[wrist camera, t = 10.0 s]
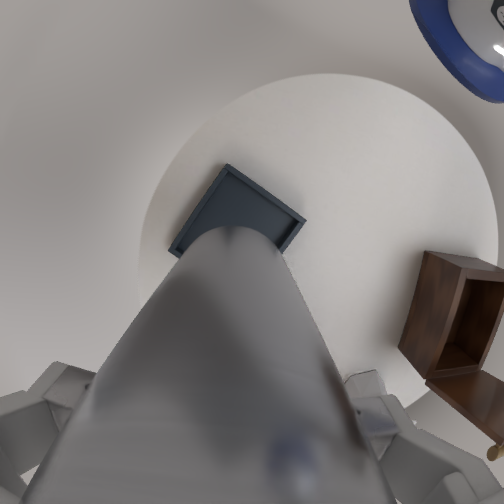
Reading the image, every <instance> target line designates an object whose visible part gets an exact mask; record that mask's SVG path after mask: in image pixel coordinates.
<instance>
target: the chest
mask: <svg viewBox="0 0 504 504" xmlns="http://www.w3.org/2000/svg"><path fill="white" fill-rule="evenodd" d="M503 312H504V269H502V268H499V267H497V266H495V265H492V264H490V263H488V262H485V261H483V260H481V259H477V258H471V257H465V256H458V255H452V254H445V253H439V252H432V251H425V252H424V256H423V261H422V265H421V270H420V274H419V278H418V282H417V286H416V290H415V294H414V297H413V301H412V304H411V308H410V311H409V315H408V318H407V321H406V325H405V328H404V331H403V334H402V337H401V340H400V343H399V346H398V349H399V350H400V351H401V352H402V354H403V355H404V356H405V357H406V358H407V360H408V361H409V362H410V363H411V364H412V366H413V367H414V368H415V369H416V370H417V372H418V373H419V374H420V375H421V377H422V378H423V379H430V378H438V377H445V376H452V375H458V374H464V373H470V372H475V371H480V370H481V368H482V366H483V363H484V361H485V359H486V357H487V354H488V352H489V350H490V347H491V345H492V342H493V340H494V337H495V335H496V332H497V329H498V327H499V324H500V321H501V318H502V315H503Z"/></svg>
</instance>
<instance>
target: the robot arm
mask: <svg viewBox="0 0 504 504" xmlns="http://www.w3.org/2000/svg"><path fill="white" fill-rule="evenodd" d="M448 10H449V14H450V17H451V19H452V22H453V24H454V26H455V28H456V29H457V31H458V33H459V34H460V36H461V37H462V39H463V40H464V41H465V43H466V44H467V45H468V46H469V47H470V48H471V50H472V51H473V52H474V53H475V54H476V55H478V56H479V57H480V58H481V59H482V60H484V61H485V62H487V63H489V64H491V65H494V66H497V67H498V68H500V69H501V70H502V71H503V72H504V0H448ZM96 374H97V373H95V372H91V371H87V370H84V369H81V368H77V367H74V366H70V365H67V364H64V363H61V362H58V361H57V362H53V363H52V364H51V365H50V366H49V367H48V368H47V369H46V370H45V372H44V373H43V374H42V375H41V376H40V377H39V378H38V379H37V381H36V382H35V383H34V384H33V385H32V386H31V387H30V389H29V390H28V391H27V392H25V391H23V390H22V391H19V392H16V393H12V394H10V395H6V396H3V397H0V504H19V502H20V500H21V498H22V496H23V494H24V492H25V490H26V489H27V487H28V486H27V485H26V483H25V482H24V481H23V479H22V478H21V477H20V475H22V474H23V473H25V472H27V471H29V470H30V469H32V468H34V467H35V466H37V465H39V464H40V463H41V462H42V460H43V458H44V457H45V455H46V453H47V451H48V450H49V448H50V446H51V445H52V443H53V441H54V440H55V438H56V436H57V435H58V433H59V431H60V430H61V428H62V427H63V425H64V423H65V422H66V420H67V418H68V417H69V415H70V414H71V412H72V411H73V409H74V407H75V406H76V404H77V403H78V401H79V400H80V398H81V396H82V395H83V393H84V392H85V390H86V389H87V387H88V386H89V384H90V383H91V381H92V380H93V378H94V377H95V375H96ZM351 399H352V402H353V404H354V406H355V408H356V410H357V413H358V415H359V417H360V419H361V421H362V424H363V426H364V428H365V430H366V433H367V435H368V437H369V439H370V442H371V444H372V446H373V448H374V451H375V453H376V455H377V457H378V460H379V462H380V464H381V467H382V469H383V471H384V474H385V476H386V478H387V481H388V483H389V485H390V488H391V490H392V492H393V495H394V497H395V498H396V499H397V500H398V501H400V502H401V503H402V504H504V488H502V487H501V485H500V484H499V482H498V481H497V479H496V478H495V477H494V475H493V473H492V472H491V471H490V469H489V468H488V466H487V465H486V464H485V462H484V461H483V460H482V459H480V458H478V457H476V456H474V455H472V454H470V453H468V452H466V451H464V450H462V449H460V448H458V447H456V446H454V445H452V444H450V443H448V442H446V441H444V440H442V439H440V438H438V437H436V436H434V435H432V434H430V433H429V432H427V431H425V430H423V429H418V430H417V428H416V427H415V425H414V423H413V422H412V420H411V419H410V417H409V416H408V414H407V413H406V411H405V409H404V408H403V406H402V405H401V403H400V402H399V400H398V399H397V397H396V396H395V395H393V394H390V395H381V396H376V397H375V396H374V397H361V398H351Z"/></svg>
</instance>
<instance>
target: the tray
mask: <svg viewBox="0 0 504 504" xmlns="http://www.w3.org/2000/svg"><path fill="white" fill-rule="evenodd" d="M306 221H307V220H306V219H304V218H303V217H302V216H300V215H299V214H298V213H296V212H295V211H294V210H292V209H291V208H289V207H288V206H287V205H285V204H284V203H283V202H281V201H280V200H279V199H277V198H276V197H275V196H273V195H272V194H270V193H269V192H268V191H266V190H265V189H263V188H262V187H261V186H259V185H258V184H256V183H255V182H254V181H252V180H251V179H249V178H248V177H247V176H245V175H244V174H242V173H241V172H239V171H238V170H237V169H235V168H234V167H232V166H231V165H229V164H228V163H227V164H226V165H225V167H224V168H223V169H222V171H221V172H220V174H219V175H218V176H217V178H216V179H215V181H214V182H213V184H212V185H211V186H210V188H209V189H208V191H207V192H206V194H205V195H204V196H203V198H202V199H201V201H200V202H199V204H198V205H197V207H196V208H195V210H194V211H193V213H192V214H191V216H190V217H189V219H188V220H187V222H186V223H185V225H184V226H183V228H182V229H181V231H180V232H179V234H178V235H177V237H176V239H175V240H174V242H173V243H172V245H171V246H170V248H169V249H168V251H169V252H170V253H172V254H173V255H175V256H176V257H177V258H179V259H180V257H181V256H182V255H183V254H184V252H185V251H186V250H187V248H188V247H189V246H190V245H191V244H192V243H193V241H194V240H195V239H197V238H198V237H199V236H200V235H202V234H204V233H205V232H207V231H209V230H212V229H214V228H218V227H222V226H243V227H247V228H251V229H253V230H256V231H258V232H260V233H261V234H263V235H265V236H266V237H267V238H269V239H270V240H271V241H272V242H273V243H274V244H275V245H276V247H277V248H278V249H279V251H280V253H281V254H282V253H283V252H284V251H285V249H286V248H287V247H288V245H289V244H290V243H291V241H292V240H293V239H294V237H295V236H296V235H297V233H298V232H299V230H300V229H301V228H302V226H303V225H304V224H305V222H306Z"/></svg>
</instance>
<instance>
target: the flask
mask: <svg viewBox="0 0 504 504" xmlns="http://www.w3.org/2000/svg"><path fill="white" fill-rule="evenodd" d="M19 504H397V502H396V500H395V497H394V495H393V492H392V490H391V488H390V485H389V483H388V481H387V478H386V476H385V474H384V471H383V469H382V467H381V464H380V462H379V460H378V457H377V455H376V453H375V451H374V448H373V446H372V444H371V442H370V439H369V437H368V435H367V433H366V430H365V428H364V426H363V424H362V421H361V419H360V417H359V415H358V413H357V410H356V408H355V406H354V404H353V402H352V399H351V397H350V395H349V393H348V391H347V389H346V386H345V384H344V382H343V380H342V378H341V376H340V374H339V371H338V369H337V367H336V365H335V363H334V361H333V359H332V357H331V354H330V352H329V350H328V348H327V346H326V344H325V342H324V340H323V338H322V336H321V333H320V331H319V329H318V327H317V325H316V323H315V321H314V319H313V317H312V315H311V313H310V311H309V309H308V307H307V305H306V303H305V300H304V298H303V296H302V294H301V292H300V290H299V288H298V286H297V284H296V282H295V280H294V278H293V276H292V274H291V272H290V270H289V268H288V266H287V264H286V262H285V260H284V258H283V256H282V254H281V253H280V251H279V249H278V248H277V247H276V245H275V244H274V243H273V242H272V241H271V240H270V239H269V238H267V237H266V236H265V235H263V234H261V233H260V232H258V231H256V230H253V229H251V228H247V227H243V226H222V227H218V228H214V229H212V230H209V231H207V232H205V233H204V234H202V235H200V236H199V237H198V238H197V239H195V240H194V241H193V243H192V244H191V245H190V246H189V247H188V248H187V250H186V251H185V252H184V254H183V255H182V256H181V257H180V259H179V260H178V261H177V263H176V264H175V265H174V267H173V268H172V269H171V270H170V272H169V273H168V274H167V276H166V277H165V278H164V280H163V281H162V282H161V284H160V285H159V286H158V288H157V289H156V290H155V292H154V293H153V294H152V296H151V297H150V298H149V300H148V301H147V303H146V304H145V305H144V307H143V308H142V309H141V311H140V312H139V314H138V315H137V316H136V318H135V319H134V320H133V322H132V323H131V325H130V326H129V328H128V329H127V330H126V332H125V333H124V334H123V336H122V337H121V339H120V340H119V342H118V343H117V344H116V346H115V347H114V349H113V350H112V352H111V353H110V355H109V356H108V357H107V359H106V361H105V362H104V363H103V365H102V366H101V368H100V369H99V371H98V372H97V374H96V375H95V377H94V378H93V380H92V381H91V383H90V384H89V386H88V387H87V389H86V390H85V392H84V393H83V395H82V396H81V398H80V400H79V401H78V403H77V404H76V406H75V407H74V409H73V411H72V412H71V414H70V415H69V417H68V418H67V420H66V422H65V423H64V425H63V427H62V428H61V430H60V431H59V433H58V435H57V436H56V438H55V440H54V441H53V443H52V445H51V446H50V448H49V450H48V451H47V453H46V455H45V457H44V458H43V460H42V462H41V463H40V465H39V467H38V469H37V471H36V472H35V474H34V476H33V478H32V479H31V481H30V483H29V485H28V487H27V489H26V490H25V492H24V494H23V496H22V498H21V500H20V502H19Z"/></svg>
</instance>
